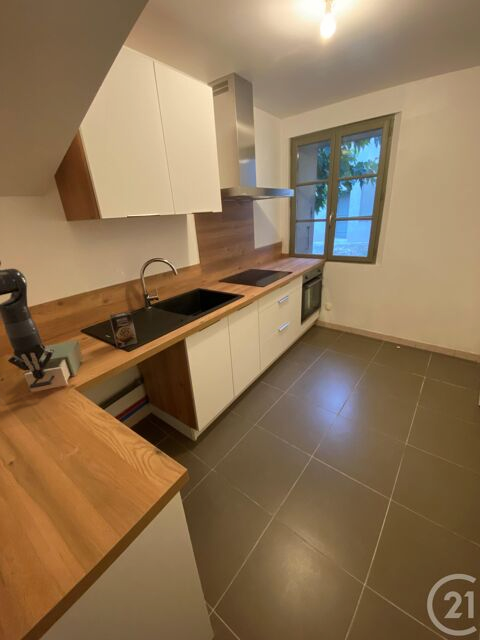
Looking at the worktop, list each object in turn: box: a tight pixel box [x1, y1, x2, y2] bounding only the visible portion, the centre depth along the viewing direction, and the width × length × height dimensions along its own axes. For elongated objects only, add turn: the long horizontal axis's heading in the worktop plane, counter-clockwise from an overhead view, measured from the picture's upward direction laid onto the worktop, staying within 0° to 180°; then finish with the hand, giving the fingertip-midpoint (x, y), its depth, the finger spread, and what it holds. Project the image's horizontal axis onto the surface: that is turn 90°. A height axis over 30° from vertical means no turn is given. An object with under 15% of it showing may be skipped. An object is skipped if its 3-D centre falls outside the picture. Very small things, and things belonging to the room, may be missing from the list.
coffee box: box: [108, 310, 138, 349], centre depth 124 cm, size 9×6×16 cm
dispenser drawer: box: [23, 358, 71, 393], centre depth 97 cm, size 18×11×7 cm, turn 18°
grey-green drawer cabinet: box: [41, 340, 84, 378], centre depth 106 cm, size 15×13×9 cm
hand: (40, 378), depth 90 cm, fingers closed
